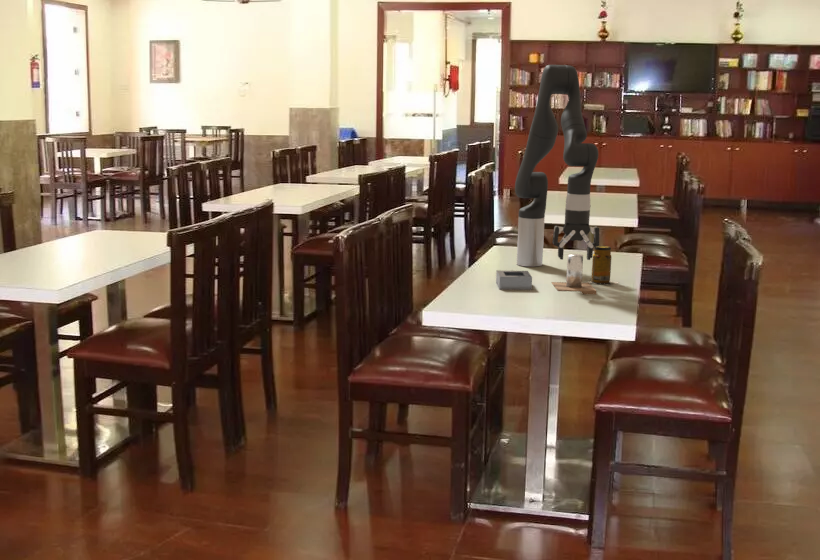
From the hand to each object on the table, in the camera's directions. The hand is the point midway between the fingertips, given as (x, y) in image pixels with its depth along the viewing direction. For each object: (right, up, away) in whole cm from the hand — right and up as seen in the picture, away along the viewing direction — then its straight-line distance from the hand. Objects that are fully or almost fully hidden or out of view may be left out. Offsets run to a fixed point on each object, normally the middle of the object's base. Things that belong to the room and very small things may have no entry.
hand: (574, 259), depth 289 cm
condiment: (+12, -8, +14) cm, 20 cm away
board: (0, -10, +2) cm, 10 cm away
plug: (0, -8, +2) cm, 9 cm away
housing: (-19, -9, +2) cm, 21 cm away
